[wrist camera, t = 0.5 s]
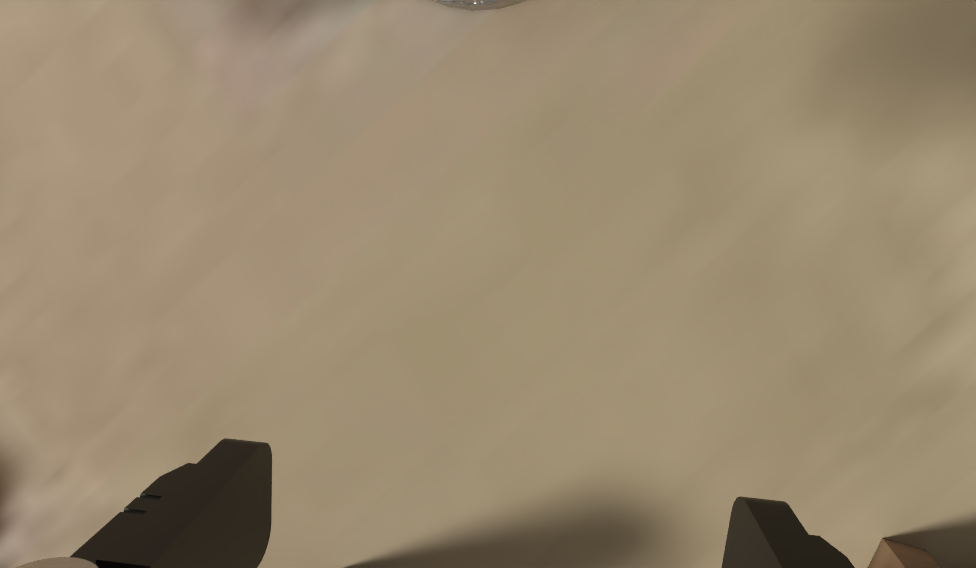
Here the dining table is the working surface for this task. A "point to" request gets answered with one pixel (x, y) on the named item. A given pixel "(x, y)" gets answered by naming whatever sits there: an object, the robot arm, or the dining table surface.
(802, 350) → the dining table surface
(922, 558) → the tile
